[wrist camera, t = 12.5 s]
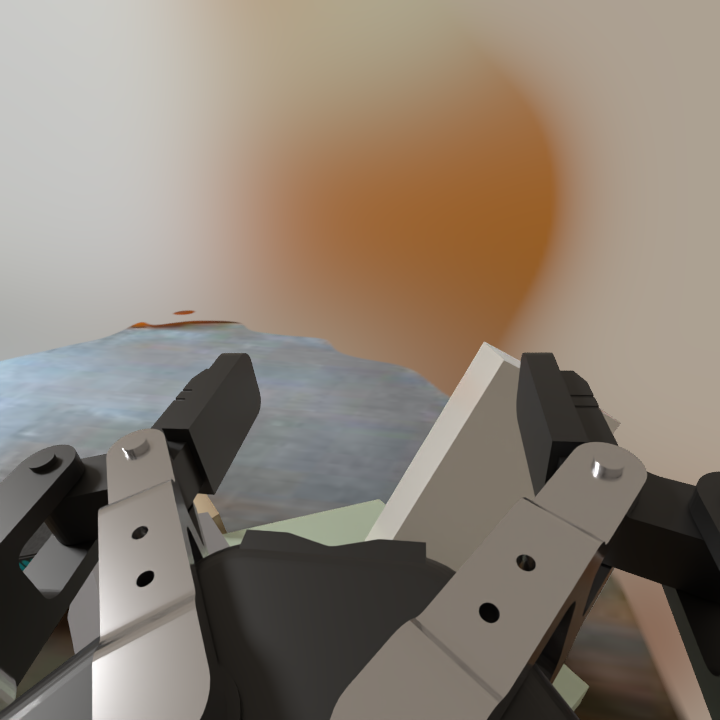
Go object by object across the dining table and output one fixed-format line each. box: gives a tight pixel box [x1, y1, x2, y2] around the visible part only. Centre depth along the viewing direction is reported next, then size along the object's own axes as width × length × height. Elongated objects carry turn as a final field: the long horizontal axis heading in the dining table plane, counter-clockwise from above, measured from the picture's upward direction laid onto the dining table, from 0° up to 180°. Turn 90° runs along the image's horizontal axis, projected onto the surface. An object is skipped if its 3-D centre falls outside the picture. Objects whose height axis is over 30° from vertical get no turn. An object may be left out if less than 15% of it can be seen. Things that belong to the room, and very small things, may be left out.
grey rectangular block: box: [365, 342, 620, 572], centre depth 19 cm, size 4×4×12 cm
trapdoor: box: [68, 499, 589, 711], centre depth 18 cm, size 17×15×4 cm
